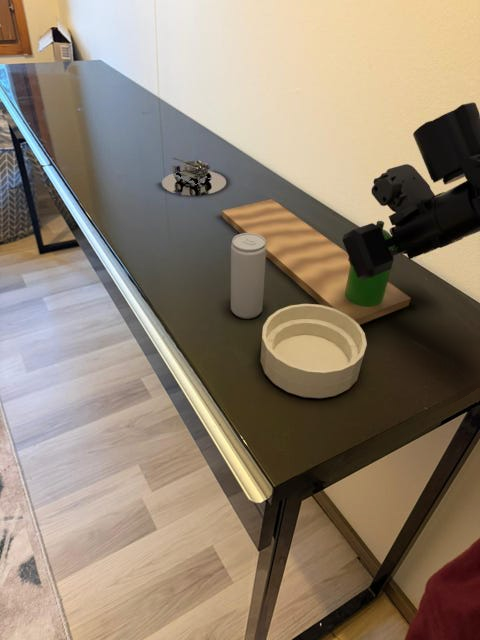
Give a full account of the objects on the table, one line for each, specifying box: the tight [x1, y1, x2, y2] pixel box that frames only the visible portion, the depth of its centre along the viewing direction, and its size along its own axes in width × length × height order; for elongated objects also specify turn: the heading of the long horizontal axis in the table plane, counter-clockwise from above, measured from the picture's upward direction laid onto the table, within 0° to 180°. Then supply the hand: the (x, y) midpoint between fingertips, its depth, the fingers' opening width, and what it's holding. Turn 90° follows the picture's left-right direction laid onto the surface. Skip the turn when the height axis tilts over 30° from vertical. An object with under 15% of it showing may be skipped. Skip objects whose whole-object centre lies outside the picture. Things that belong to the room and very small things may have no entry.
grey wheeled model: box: [161, 156, 227, 196], centre depth 105 cm, size 15×15×5 cm
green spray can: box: [345, 220, 395, 307], centre depth 66 cm, size 6×6×12 cm
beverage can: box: [230, 233, 267, 320], centre depth 65 cm, size 5×5×12 cm
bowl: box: [260, 303, 368, 399], centre depth 59 cm, size 13×13×5 cm
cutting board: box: [221, 198, 411, 326], centre depth 81 cm, size 40×12×2 cm, turn 29°
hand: (365, 255), depth 67 cm, fingers closed on green spray can, 6 cm apart
